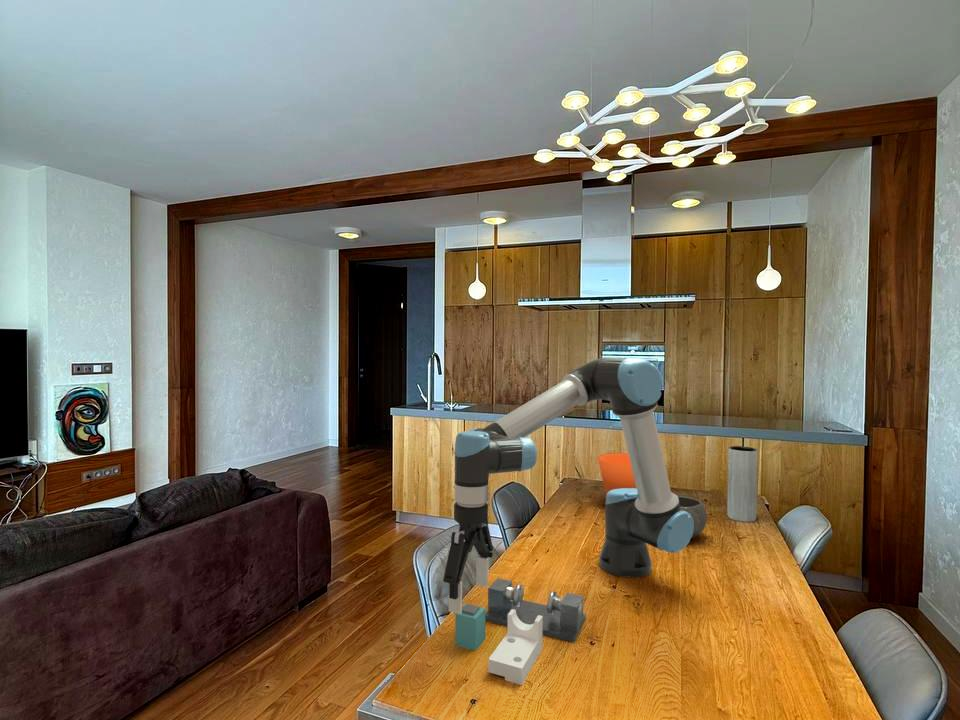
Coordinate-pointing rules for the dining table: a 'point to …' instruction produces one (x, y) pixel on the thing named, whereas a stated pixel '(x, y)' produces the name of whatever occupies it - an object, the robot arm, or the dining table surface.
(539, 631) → the bracket
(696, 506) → the bowl
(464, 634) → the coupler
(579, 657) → the dining table surface
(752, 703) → the dining table surface
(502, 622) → the shaft bench
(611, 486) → the flowerpot
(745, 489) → the vase
